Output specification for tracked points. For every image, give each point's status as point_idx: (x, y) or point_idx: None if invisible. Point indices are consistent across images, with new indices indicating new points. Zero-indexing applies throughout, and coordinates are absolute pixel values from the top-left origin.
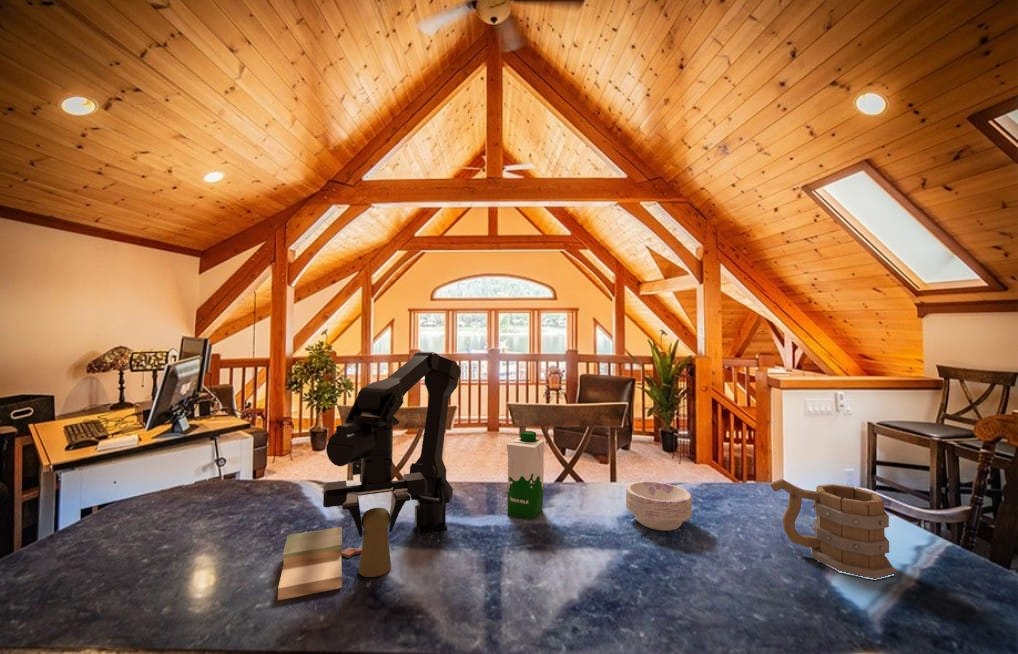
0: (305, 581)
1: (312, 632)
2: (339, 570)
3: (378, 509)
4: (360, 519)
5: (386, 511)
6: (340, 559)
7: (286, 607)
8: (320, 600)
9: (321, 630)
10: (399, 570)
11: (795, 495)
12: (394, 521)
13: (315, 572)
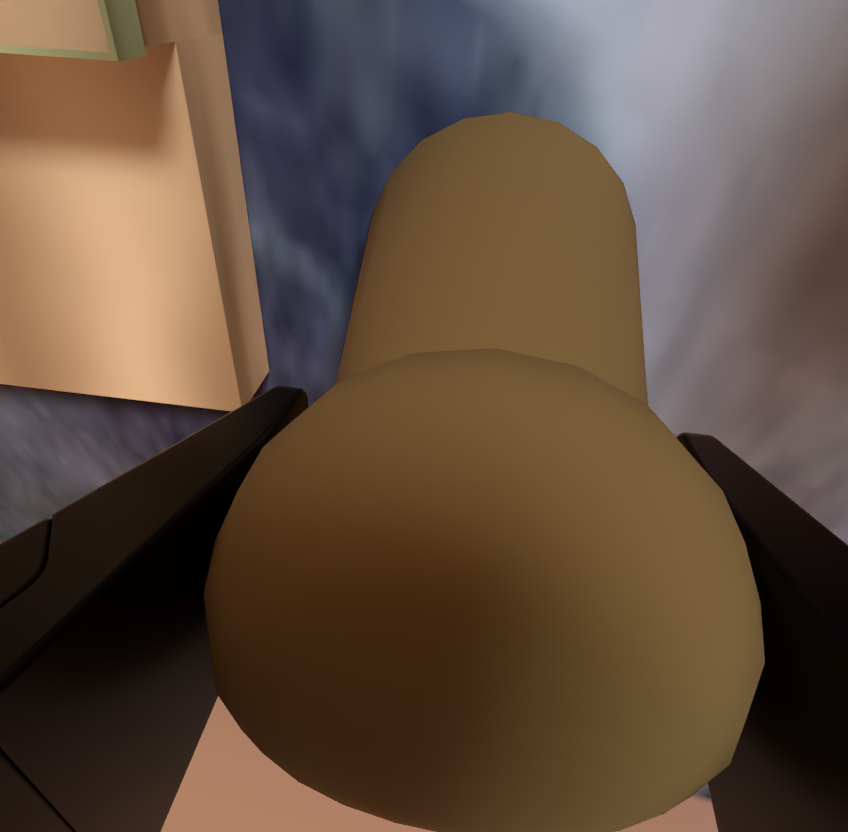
0: (20, 369)
1: None
2: (213, 336)
3: (518, 789)
4: (184, 754)
5: (672, 806)
6: (187, 152)
7: (24, 407)
8: (176, 426)
9: None
10: (662, 345)
11: None
12: None
13: (39, 288)
